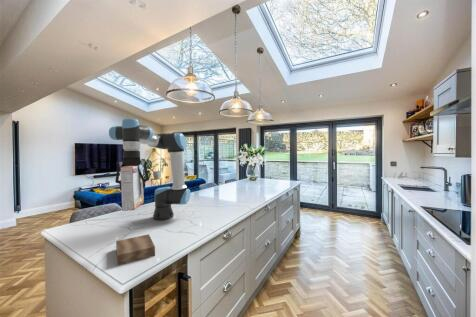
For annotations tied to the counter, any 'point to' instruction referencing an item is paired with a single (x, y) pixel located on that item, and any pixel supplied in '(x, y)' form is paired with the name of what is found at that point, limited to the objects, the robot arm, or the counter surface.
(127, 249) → the walnut plinth block
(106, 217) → the counter surface
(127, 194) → the cracker box
